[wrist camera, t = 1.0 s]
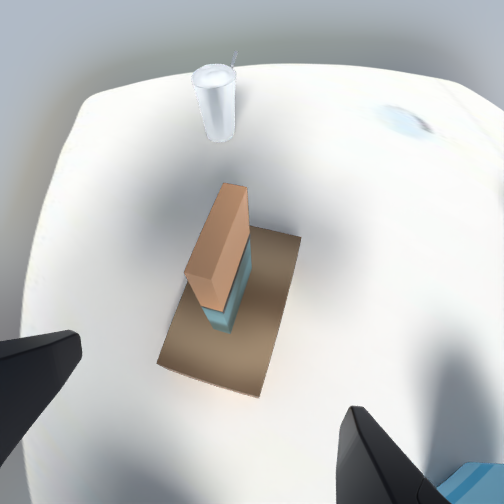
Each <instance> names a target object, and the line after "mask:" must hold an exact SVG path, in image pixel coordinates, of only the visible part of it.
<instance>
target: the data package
mask: <svg viewBox="0 0 504 504" xmlns="http://www.w3.org/2000/svg"><path fill="white" fill-rule="evenodd" d="M436 489H437V490H438V491H439V492H440V493H441V494H442V495H443V496H444V497H445V498H446V499H447V500H448V501H449V502H450V503H451V504H504V464H494V463H478V462H467V463H465V464H464V465H463V466H461V467H460V468H459V469H458V470H457V471H456V472H455V473H454V474H453V475H452V476H450V477H449V478H448V479H447V480H446V481H445V482H443V483H442V484H441V485H440V486H439V487H437V488H436Z"/></svg>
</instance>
